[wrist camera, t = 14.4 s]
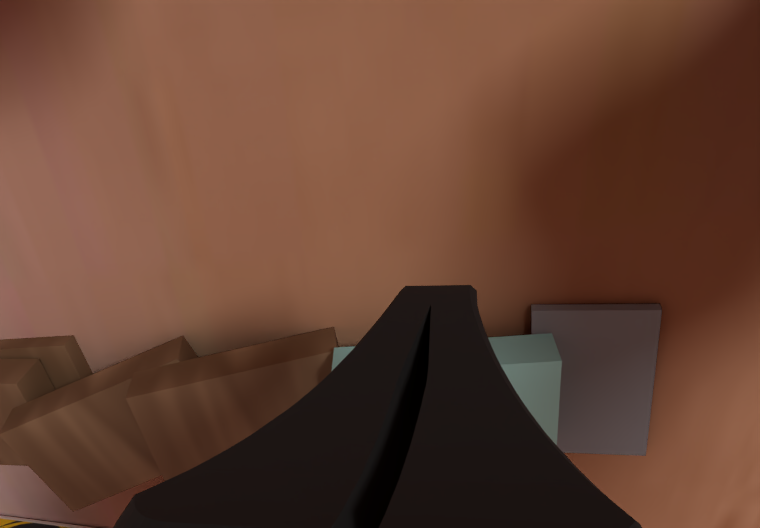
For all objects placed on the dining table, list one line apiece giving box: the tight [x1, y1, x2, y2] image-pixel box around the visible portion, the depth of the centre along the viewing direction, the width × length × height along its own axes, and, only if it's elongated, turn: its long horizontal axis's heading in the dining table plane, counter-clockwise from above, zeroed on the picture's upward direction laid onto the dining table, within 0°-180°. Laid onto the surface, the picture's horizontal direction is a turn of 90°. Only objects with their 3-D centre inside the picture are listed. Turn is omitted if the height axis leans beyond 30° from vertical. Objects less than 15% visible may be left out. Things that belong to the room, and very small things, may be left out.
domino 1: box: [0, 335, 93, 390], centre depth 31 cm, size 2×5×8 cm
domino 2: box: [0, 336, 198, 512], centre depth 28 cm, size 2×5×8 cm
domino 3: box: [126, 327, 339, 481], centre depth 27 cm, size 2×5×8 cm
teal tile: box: [331, 333, 562, 445], centre depth 25 cm, size 2×5×8 cm
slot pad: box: [531, 304, 662, 456], centre depth 25 cm, size 4×7×1 cm, turn 6°
